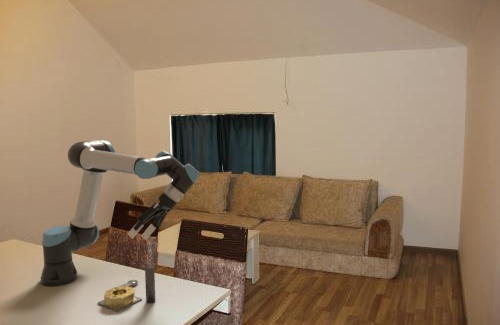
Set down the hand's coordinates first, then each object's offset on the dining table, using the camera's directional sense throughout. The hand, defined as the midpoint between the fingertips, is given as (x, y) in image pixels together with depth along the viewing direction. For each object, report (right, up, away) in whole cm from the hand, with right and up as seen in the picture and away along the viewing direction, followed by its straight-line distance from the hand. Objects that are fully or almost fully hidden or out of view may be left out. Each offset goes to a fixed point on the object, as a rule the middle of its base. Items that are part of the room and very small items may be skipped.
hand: (136, 237), depth 165 cm
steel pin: (+7, -25, -4) cm, 26 cm away
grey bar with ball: (-8, -24, +8) cm, 26 cm away
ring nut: (-6, -25, -4) cm, 26 cm away
